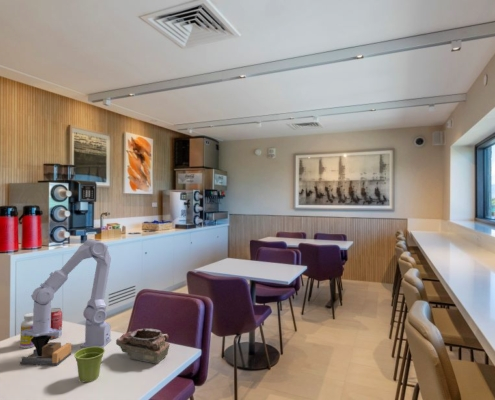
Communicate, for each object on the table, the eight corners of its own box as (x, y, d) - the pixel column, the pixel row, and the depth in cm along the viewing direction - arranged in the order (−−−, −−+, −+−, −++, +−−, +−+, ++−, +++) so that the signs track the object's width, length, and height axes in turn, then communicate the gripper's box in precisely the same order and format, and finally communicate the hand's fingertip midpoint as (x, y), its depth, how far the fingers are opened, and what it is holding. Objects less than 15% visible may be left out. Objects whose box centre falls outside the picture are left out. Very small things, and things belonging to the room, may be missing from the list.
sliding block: (60, 354, 126) (61, 341, 126) (53, 359, 121) (53, 346, 121) (49, 353, 126) (49, 341, 126) (41, 359, 121) (42, 346, 121)
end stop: (71, 352, 128) (71, 343, 128) (57, 363, 119) (57, 353, 119) (66, 352, 128) (66, 343, 128) (52, 362, 119) (52, 353, 119)
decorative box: (148, 372, 115) (148, 345, 115) (107, 361, 123) (107, 335, 123) (171, 357, 127) (172, 332, 127) (132, 347, 135) (132, 324, 135)
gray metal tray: (71, 354, 128) (71, 349, 128) (56, 365, 119) (57, 359, 119) (36, 353, 128) (36, 348, 128) (19, 364, 119) (19, 358, 119)
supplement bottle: (29, 349, 132) (30, 317, 132) (16, 347, 133) (16, 316, 134) (43, 342, 139) (43, 312, 139) (30, 341, 140) (30, 311, 140)
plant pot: (96, 368, 117) (96, 344, 117) (109, 377, 111) (109, 351, 112) (68, 378, 110) (69, 352, 110) (81, 388, 104) (81, 361, 104)
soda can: (44, 335, 146) (45, 308, 147) (62, 332, 149) (63, 306, 150) (42, 341, 140) (42, 313, 140) (61, 338, 143) (61, 311, 143)
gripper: (15, 322, 120) (14, 359, 120) (54, 323, 120) (53, 360, 119) (29, 315, 127) (28, 350, 127) (65, 316, 127) (64, 351, 126)
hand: (41, 355), depth 124 cm, fingers closed
